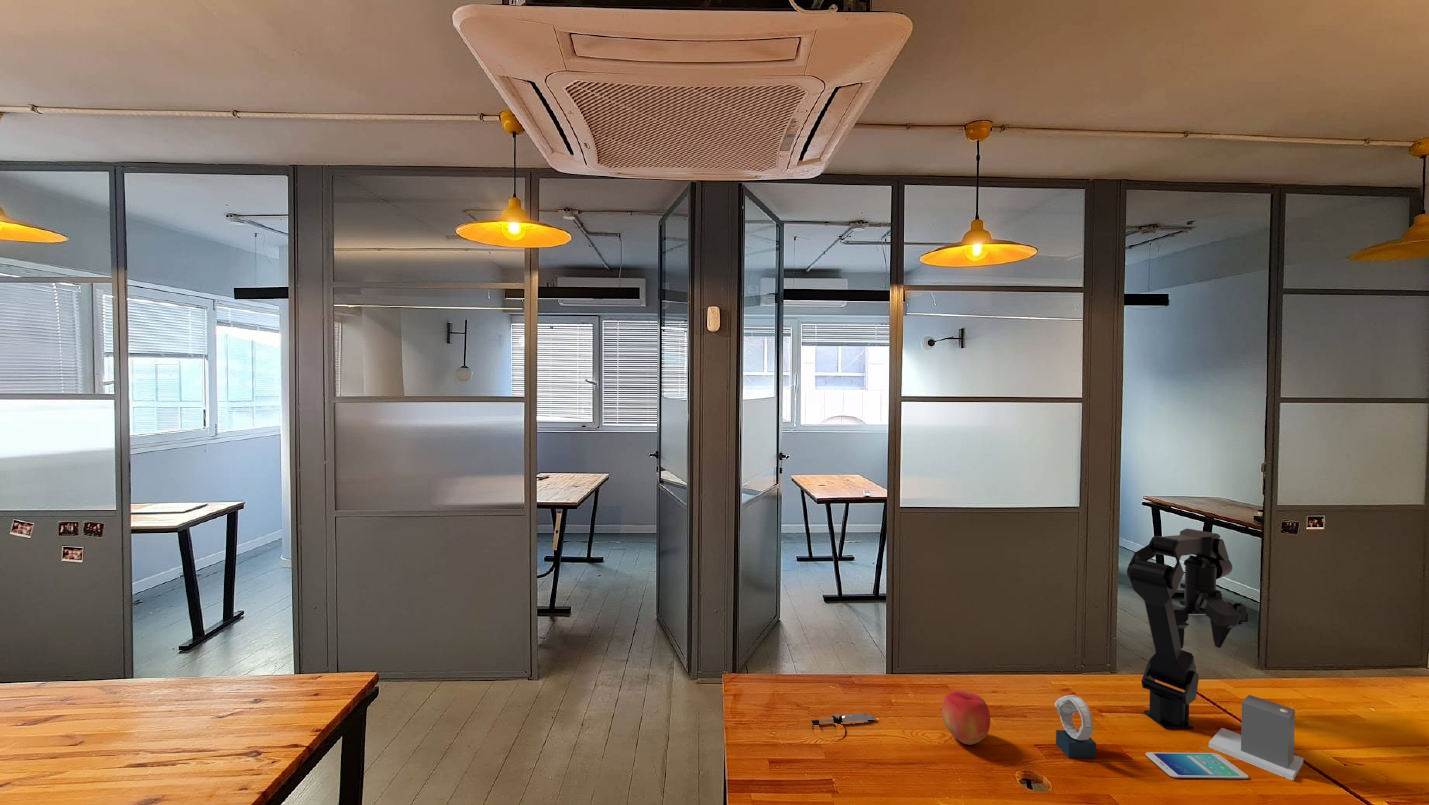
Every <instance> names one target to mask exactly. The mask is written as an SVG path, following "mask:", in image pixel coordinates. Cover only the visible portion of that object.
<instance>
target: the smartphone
mask: <svg viewBox="0 0 1429 805" xmlns="http://www.w3.org/2000/svg"><path fill="white" fill-rule="evenodd" d="M1145 757H1146V758H1147V759H1149V760H1150V761H1151V762H1152V764H1154V765H1155V766H1156V767H1158V768H1159V769H1160V770H1161V771H1162V772H1164V774H1166V775H1167V777H1169V778H1171V779H1174V780H1175V779H1176V780H1244V781H1245V780H1249V775H1248V774H1246V773H1245V772H1244V771H1242V770H1241V769H1239V767H1237V766H1235V765H1234V764H1233V763H1232V762H1230V761H1229V760H1227V759H1226V758H1225V757H1223V756H1222V755H1220V754H1219V753H1215V752H1162V751H1161V752H1158V751H1157V752H1154V751H1153V752H1151V751H1150V752H1149V751H1147V752H1145Z"/></svg>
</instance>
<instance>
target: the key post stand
mask: <svg viewBox="0 0 1429 805" xmlns="http://www.w3.org/2000/svg"><path fill="white" fill-rule="evenodd" d="M1208 748H1210V749H1212V750H1215V751H1217V752H1220V753H1221V754H1222V753H1223V754H1225V755H1226V756H1227V755H1228V756H1230V757H1232V758H1235V759H1237V760H1240V761H1242V762H1245V763H1248V764H1250V765H1253V767H1257V768H1259V769H1262V770H1265V771H1267V772H1270V773H1272V774H1275V775H1277V776H1280V777H1282V778H1284V777H1285V778H1284V779H1287V780H1290V781H1292V780H1293V781H1294V780H1295V778H1296V776H1297V775H1298V774H1299V771H1300V770H1301V768H1302V766H1303V764H1304V757H1302V756H1298V755H1297V754H1294V760H1293V761H1292V763H1291V764H1290V766H1289V768H1288V769H1286V768H1284V767H1281V766H1279V765H1276V764H1274V763H1271V762H1268V761H1266V760H1263V759H1261V758H1258V757H1256V756H1253V755H1251V754H1248V753H1245V752H1243V751H1241V734H1240V733H1236V732H1234V731H1232V730H1229V729H1226V728H1223V727H1221V728H1220V729H1219V730H1218V732H1216V734H1215V735H1214V736H1213V737H1212V738H1211V739H1210V740H1209V742H1208Z"/></svg>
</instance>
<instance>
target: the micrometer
mask: <svg viewBox="0 0 1429 805" xmlns="http://www.w3.org/2000/svg"><path fill="white" fill-rule="evenodd" d="M838 718H839V719H838ZM868 720H875V721H876V717H875V714H873V713H872V714H867V712H862V713H849V714H842V715H840V714H839V713H834V715H831V716H830V718H828V719H812V720H811V721H812V723H813V725H820V726H821V724H819V723H821V722H834V723H837V724H841V722H842V723H843V722H862V721H863V722H864V721H865V722H868V723H869V721H868ZM812 723H811V724H812ZM813 725H812V726H813ZM841 725H842V724H841ZM813 729H814V728H813V727H812V730H813Z"/></svg>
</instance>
